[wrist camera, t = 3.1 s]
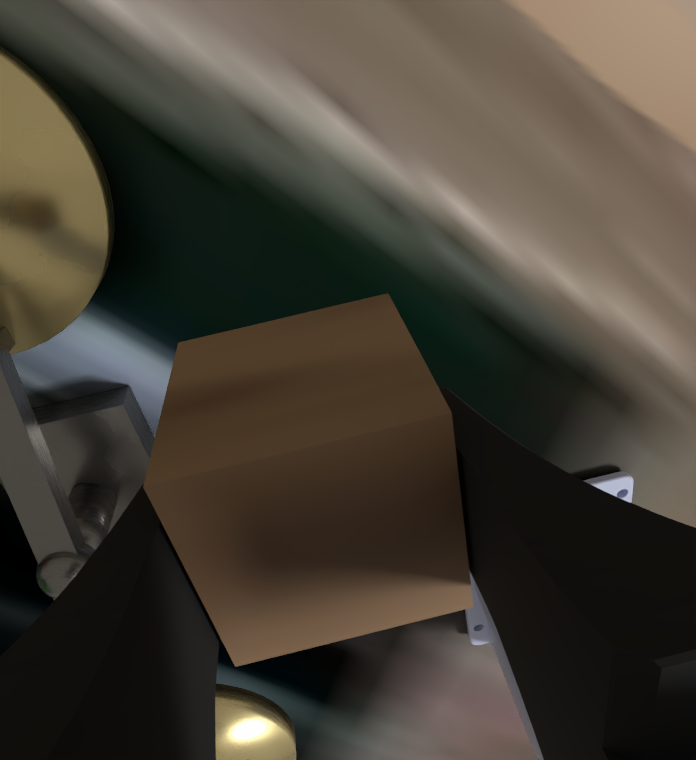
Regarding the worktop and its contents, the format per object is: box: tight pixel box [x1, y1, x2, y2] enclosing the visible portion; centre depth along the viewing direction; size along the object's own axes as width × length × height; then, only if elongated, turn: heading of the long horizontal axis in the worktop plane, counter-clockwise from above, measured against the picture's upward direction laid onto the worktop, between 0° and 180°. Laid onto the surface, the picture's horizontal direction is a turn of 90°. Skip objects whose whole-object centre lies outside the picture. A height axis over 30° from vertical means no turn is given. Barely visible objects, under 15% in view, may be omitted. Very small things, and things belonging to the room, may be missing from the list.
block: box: [143, 294, 473, 667], centre depth 11 cm, size 4×4×4 cm
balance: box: [0, 46, 296, 760], centre depth 19 cm, size 30×9×7 cm, turn 11°
